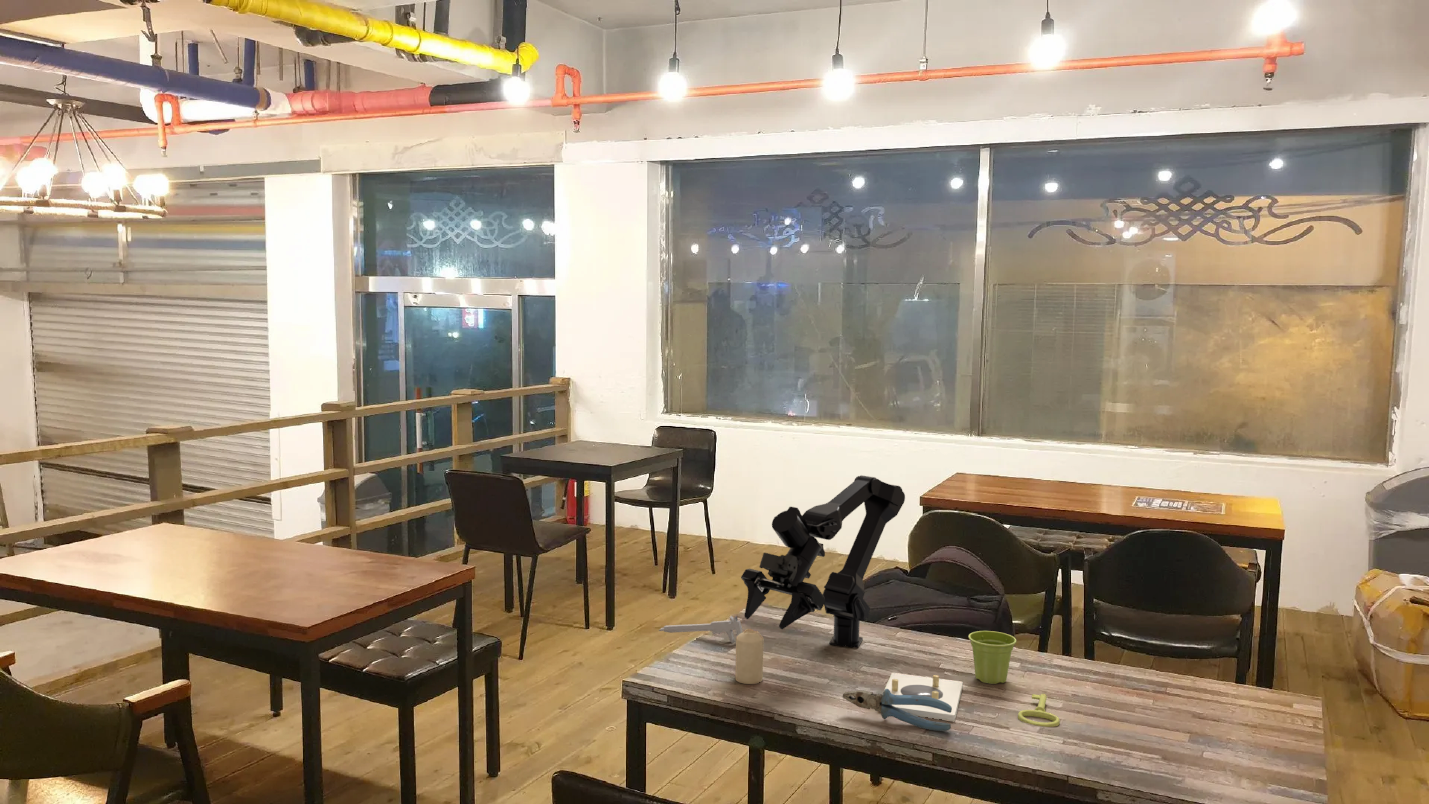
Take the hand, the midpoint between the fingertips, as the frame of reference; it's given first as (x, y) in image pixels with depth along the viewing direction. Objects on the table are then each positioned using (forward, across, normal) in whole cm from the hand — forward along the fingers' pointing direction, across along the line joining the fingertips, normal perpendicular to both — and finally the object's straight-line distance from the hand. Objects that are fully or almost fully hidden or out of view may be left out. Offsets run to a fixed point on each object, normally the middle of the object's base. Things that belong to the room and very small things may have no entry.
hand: (762, 623), depth 206 cm
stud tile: (-1, +30, +16) cm, 34 cm away
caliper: (+2, -26, +14) cm, 29 cm away
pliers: (+8, +33, +7) cm, 35 cm away
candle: (+10, 0, +5) cm, 12 cm away
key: (-7, +50, +23) cm, 55 cm away
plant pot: (-15, +34, +30) cm, 48 cm away
